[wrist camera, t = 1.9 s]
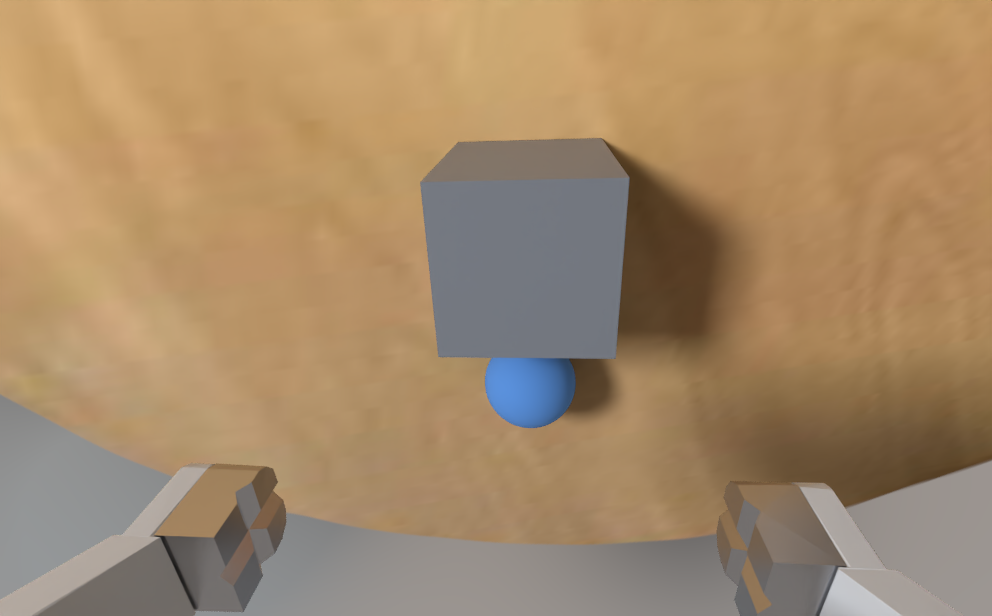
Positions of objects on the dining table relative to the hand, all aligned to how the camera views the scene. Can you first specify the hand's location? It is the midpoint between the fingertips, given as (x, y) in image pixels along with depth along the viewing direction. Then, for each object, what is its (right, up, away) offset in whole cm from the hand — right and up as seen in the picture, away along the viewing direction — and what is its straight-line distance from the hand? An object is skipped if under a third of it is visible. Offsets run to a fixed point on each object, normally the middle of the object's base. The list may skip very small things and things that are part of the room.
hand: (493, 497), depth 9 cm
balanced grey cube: (+2, +9, +17) cm, 19 cm away
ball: (+2, -1, +19) cm, 19 cm away
